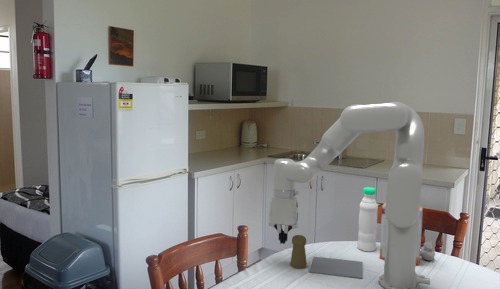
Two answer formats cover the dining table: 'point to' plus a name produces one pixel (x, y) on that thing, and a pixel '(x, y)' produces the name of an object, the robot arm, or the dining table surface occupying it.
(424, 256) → the rubber duck
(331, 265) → the rubber mat
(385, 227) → the cracker box
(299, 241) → the cork
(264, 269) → the dining table surface
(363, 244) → the water bottle
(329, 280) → the dining table surface
